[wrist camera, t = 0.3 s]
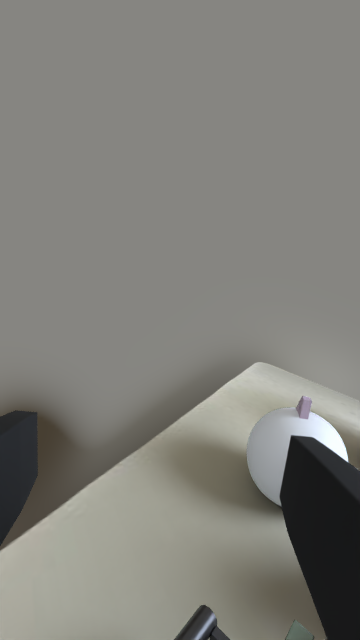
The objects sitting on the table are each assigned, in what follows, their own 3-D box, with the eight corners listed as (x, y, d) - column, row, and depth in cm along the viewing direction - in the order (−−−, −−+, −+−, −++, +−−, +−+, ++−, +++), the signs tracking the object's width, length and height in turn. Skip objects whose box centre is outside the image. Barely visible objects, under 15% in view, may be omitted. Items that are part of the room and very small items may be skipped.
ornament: (225, 461, 42) (249, 375, 39) (296, 462, 45) (325, 381, 41) (261, 536, 33) (298, 431, 29) (349, 531, 35) (391, 434, 32)
